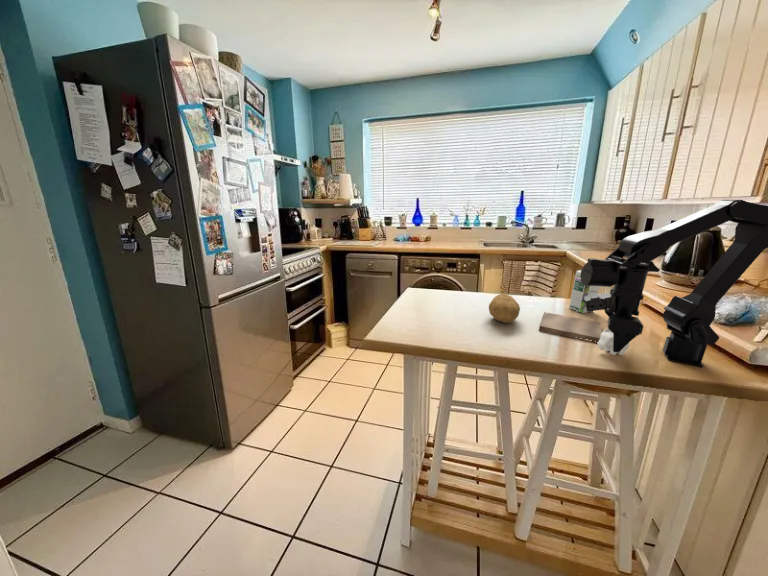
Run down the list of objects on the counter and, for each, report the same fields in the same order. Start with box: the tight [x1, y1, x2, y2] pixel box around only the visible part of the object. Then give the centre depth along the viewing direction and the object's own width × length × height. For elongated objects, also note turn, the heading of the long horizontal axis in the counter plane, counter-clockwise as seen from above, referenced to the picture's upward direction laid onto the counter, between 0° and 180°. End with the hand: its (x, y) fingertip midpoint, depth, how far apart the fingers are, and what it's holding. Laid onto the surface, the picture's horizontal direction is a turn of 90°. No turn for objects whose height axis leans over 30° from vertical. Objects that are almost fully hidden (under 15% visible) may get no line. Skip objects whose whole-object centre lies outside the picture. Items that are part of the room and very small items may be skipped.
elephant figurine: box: [596, 328, 630, 356], centre depth 80 cm, size 7×8×6 cm
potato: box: [488, 293, 521, 324], centre depth 100 cm, size 10×14×8 cm
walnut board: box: [538, 311, 603, 343], centre depth 95 cm, size 16×14×2 cm
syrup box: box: [568, 269, 600, 314], centre depth 109 cm, size 6×6×14 cm
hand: (614, 344), depth 80 cm, fingers open, 9 cm apart
